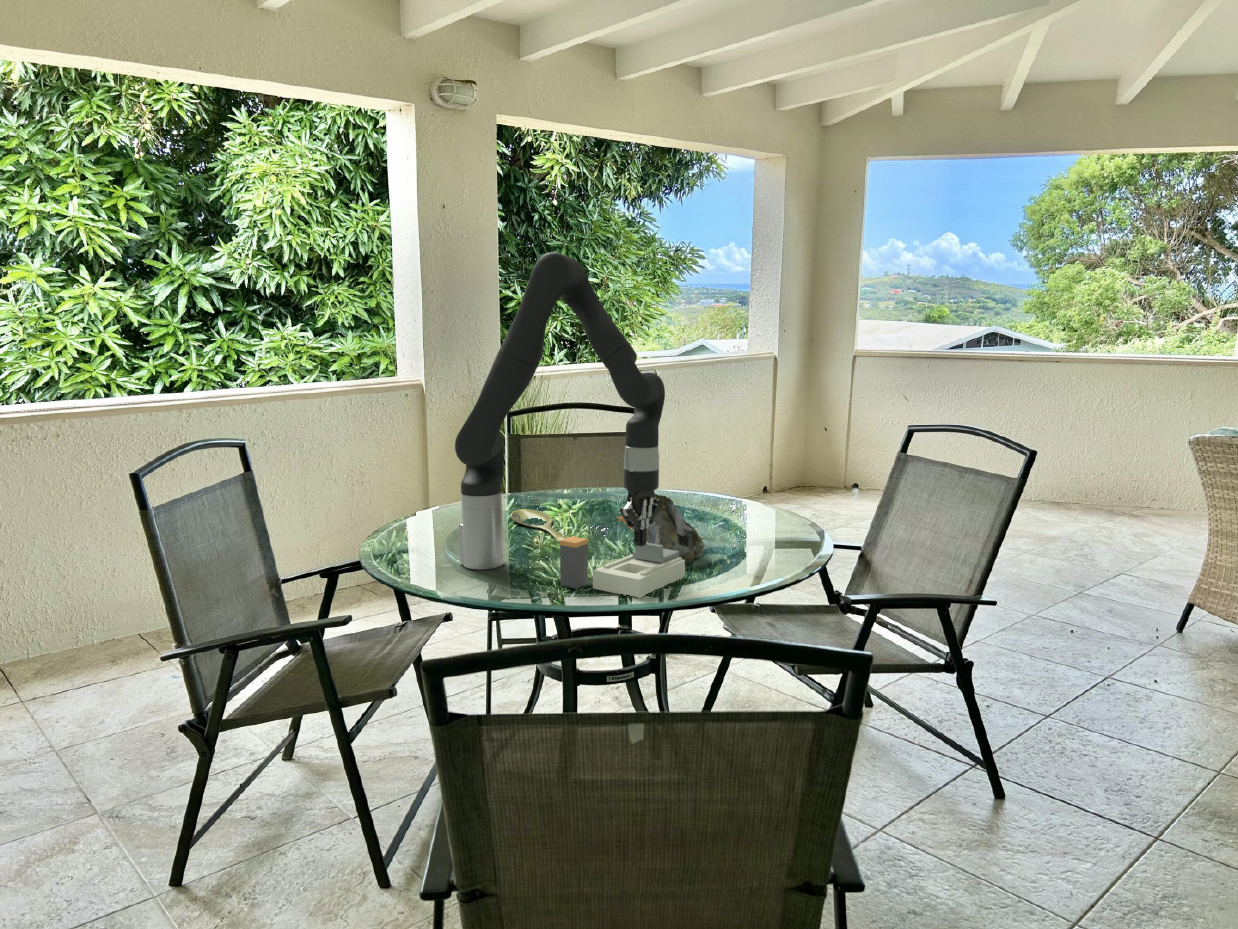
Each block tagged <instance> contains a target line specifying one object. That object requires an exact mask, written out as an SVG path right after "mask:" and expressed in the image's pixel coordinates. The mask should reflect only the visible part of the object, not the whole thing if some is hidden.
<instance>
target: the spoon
mask: <svg viewBox="0 0 1238 929" xmlns="http://www.w3.org/2000/svg"><path fill="white" fill-rule="evenodd" d="M510 518H511V519H512V520H513V521H514V522H515V523H517V524H521V525H522V526H526V527H529V528H530V527H531V528H536V529H542V530H544V531H547V532H548V533H550V535H551V536H552V537H553V538H554V539H555V540H556V541H557V540H559V541H560V540H563V539H566V538H567V537H566V536H565V535H564V534H561V533H560V532H559V531H557V530H555V529H554V528H553V527H552V526H551V525H552V523H553V517H552V516H551V515H550V514H548V513H546V512H543V511H540V510H537V509H531V508H530V509H529V508H521V509H516V510H514V511H512V512H511V513H510ZM531 518H538V519H542V520H543V521H547V523H546V524H544V525H540V524H538V525H535V524H534V525H531V524H529V523H528V524H529V525H528V524H525V523H523V522H522V521H525V520H526V519H531ZM559 541H558V542H559Z"/></svg>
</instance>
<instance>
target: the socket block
mask: <svg viewBox="0 0 1238 929" xmlns="http://www.w3.org/2000/svg"><path fill="white" fill-rule="evenodd" d="M685 570H686V563H685V560H682V558H681V557H676V558H674V559H672V560H669V561H667V562H665V563H659V562H654V561H648V560H643V559H638V558H633V553H632V554H630V555H629V554H628V555H627V556H624V557H622V558H619V559H617V560H613V561H611V562H609V563H607V564H603V566H600V567H598V568H595V569H592V589H593V590H600V591H604V592H608V593H613V594H617V593H618V594H617V595H621V594H623V595H622V596H626V595H630V596H629V597H631V596H636V597H641V596H643V595H646V594H648V593H650V592H652V591H654V590H655V589H659V588H661V589H663V588H665V587H666V586H665V585H667V584H669V583H672V582H674V581H676V580H678V581H680V580H682V579H683V578H682V577H685V574H686V571H685ZM681 578H682V579H681ZM685 578H686V577H685ZM679 579H680V580H679ZM676 582H677V581H676ZM674 583H675V582H674ZM672 584H673V583H672ZM664 586H665V587H664ZM667 586H668V585H667ZM662 587H663V588H662ZM659 590H660V589H659ZM654 592H655V591H654ZM652 593H653V592H652ZM650 594H651V593H650ZM648 595H649V594H648ZM646 596H647V595H646ZM641 598H642V597H641Z"/></svg>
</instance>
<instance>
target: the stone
mask: <svg viewBox="0 0 1238 929" xmlns="http://www.w3.org/2000/svg"><path fill="white" fill-rule="evenodd" d="M655 498H656V499H660V500H661V504H660V506H659V509H658V511H657V514H656V516H655V519H654V521H653V523H652V524H649V527H648V528H647V541H646V543H652V544H657V545H663V549H669V550H674V551H679V557H681V558H682V560H685V564H689V563H690V564H692V563H694V559H698V558H700V557H702V554H703V551H704V548H705V545H706V544H705V543H704V541H703V540H701V539H700V537H699V536H700V535H699V533H698V531H697V529H696V528H694V527H693V526H692V525H691V524H690V523H689V522H688V521H687V520H685V518H684V517H683V515H682V514H681V512H680V510H679V509H678V507H677V506H676V505H675V503H674V500H673V499H672V498H670V497H667V496H666V495H661V494H656V493H655Z"/></svg>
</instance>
